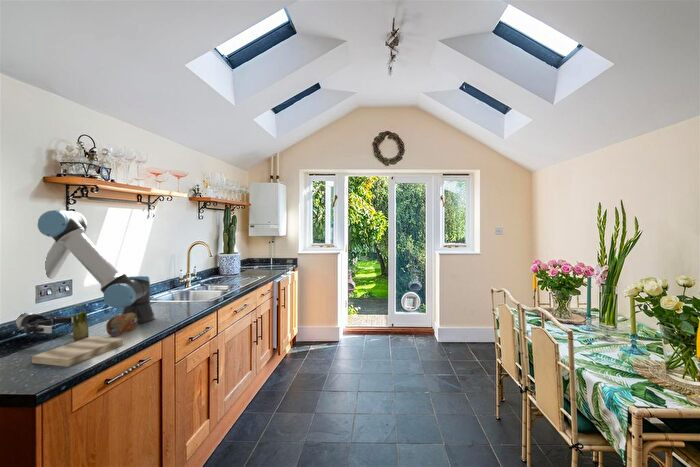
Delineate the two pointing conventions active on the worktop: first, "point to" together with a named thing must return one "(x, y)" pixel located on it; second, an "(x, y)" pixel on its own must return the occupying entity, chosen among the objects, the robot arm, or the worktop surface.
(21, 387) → the worktop surface
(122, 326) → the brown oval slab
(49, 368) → the worktop surface
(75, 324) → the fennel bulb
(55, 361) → the board
